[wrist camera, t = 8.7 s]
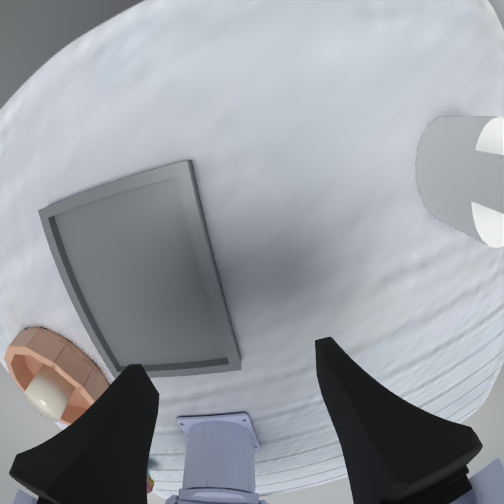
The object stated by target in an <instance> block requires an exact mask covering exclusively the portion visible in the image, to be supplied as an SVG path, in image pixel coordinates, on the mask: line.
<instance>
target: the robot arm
mask: <svg viewBox="0 0 504 504" xmlns="http://www.w3.org/2000/svg"><path fill="white" fill-rule="evenodd" d="M315 349H316V370H317V378H318V382H319V386H320V389H321V393H322V397H323V399H324V402H325V404H326V407H327V410H328V412H329V415H330V417H331V420H332V422H333V425H334V428H335V430H336V433H337V435H338V438H339V441H340V444H341V447H342V451H343V455H344V459H345V464H346V468H347V472H348V477H349V481H350V486H351V491H352V496H353V502H354V504H504V467H503V465H502V463H501V461H500V460H499V458H496V459H495V460H494V461H492V462H491V463H490V464H488V465H487V466H486V467H484V468H483V469H482V470H480V471H479V472H478V473H476V474H475V475H474V476H472V477H471V478H469V479H468V478H467V476H466V474H467V473H469V470H468V468H467V466H466V465H467V464H468V463H469V462H470V461H471V460H472V459H473V458H474V457H475V456H476V455H477V454H478V453H479V452H480V450H481V449H482V446H483V445H482V443H481V442H480V440H479V438H478V436H477V435H476V433H475V432H474V431H473V429H472V428H471V427H469V426H465V425H461V424H458V423H454V422H451V421H448V420H445V419H443V418H440V417H437V416H435V415H432V414H430V413H428V412H426V411H424V410H422V409H420V408H418V407H416V406H414V405H412V404H410V403H408V402H407V401H405V400H403V399H402V398H400V397H398V396H397V395H395V394H394V393H392V392H391V391H389V390H388V389H387V388H385V387H384V386H382V385H381V384H380V383H379V382H377V381H376V380H375V379H374V378H372V377H371V376H370V375H369V374H368V373H366V372H365V371H364V370H363V369H362V368H361V367H360V366H359V365H358V364H357V363H355V362H354V361H353V360H352V359H351V358H350V357H349V356H348V355H347V354H346V353H345V352H344V351H343V349H342V348H341V347H340V346H339V345H338V344H337V343H336V342H335V341H334V339H333V338H331V337H327V338H323V339H319V340H315ZM158 406H159V393H158V391H157V390H156V388H155V386H154V385H153V383H152V382H151V380H150V378H149V377H148V375H147V373H146V371H145V370H144V368H143V366H142V364H129V365H128V366H127V367H126V368H125V369H124V370H123V371H122V372H121V374H120V375H119V376H118V377H117V378H116V379H115V380H114V381H113V383H112V384H111V385H110V386H109V387H108V388H107V389H106V390H105V392H104V393H103V394H102V395H101V396H100V397H99V398H98V399H97V400H96V401H95V402H94V403H93V404H92V405H91V406H90V407H89V408H88V409H87V410H86V411H85V412H84V413H83V414H82V415H81V416H80V417H79V418H78V419H77V420H75V421H74V422H73V423H72V424H71V425H69V426H68V427H67V428H65V429H64V430H63V431H61V432H60V433H58V434H57V435H55V436H54V437H53V438H51V439H49V440H47V441H46V442H44V443H42V444H40V445H38V446H36V447H34V448H32V449H30V450H27V451H25V452H22V453H20V454H17V455H16V457H15V460H14V462H13V465H12V467H11V470H10V472H9V474H10V476H11V477H12V478H14V479H15V480H16V481H17V482H19V483H20V484H22V485H23V486H25V487H26V488H27V489H29V490H30V491H32V492H33V493H35V494H36V495H38V496H39V498H38V500H37V499H35V498H33V497H32V496H30V495H28V494H26V493H25V492H23V491H22V490H20V489H18V491H17V494H16V496H15V499H14V503H13V504H147V467H148V458H149V452H150V447H151V443H152V438H153V433H154V429H155V424H156V420H157V415H158ZM176 422H177V423H178V425H179V426H180V428H181V429H182V430H183V432H184V433H185V434H186V436H187V437H188V440H187V449H186V457H185V467H184V476H183V487H182V489H179V496H177V495H172V496H171V497H170V498H168V499H167V500H166V502H165V504H268V503H267V502H266V501H265V500H259V495H258V493H255V487H256V485H255V470H254V455H253V452H257V451H260V450H261V447H260V444H259V442H258V439H257V437H256V434H255V431H254V429H253V426H252V424H251V421H250V418H249V416H248V414H246V413H238V414H229V415H217V416H201V417H178V418H177V419H176Z"/></svg>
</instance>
